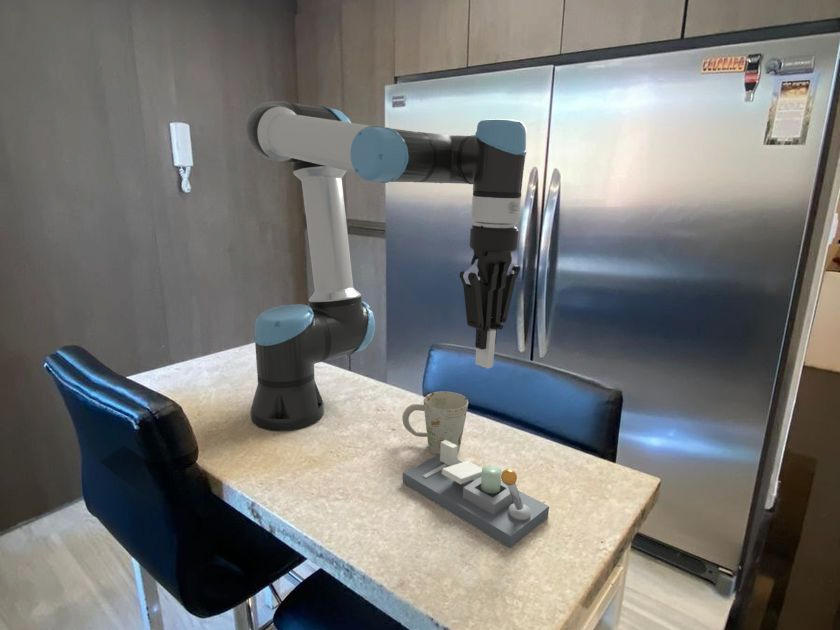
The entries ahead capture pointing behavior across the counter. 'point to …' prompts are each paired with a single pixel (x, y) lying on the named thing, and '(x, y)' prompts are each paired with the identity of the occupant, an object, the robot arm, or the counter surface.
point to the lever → (512, 487)
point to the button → (491, 479)
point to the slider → (448, 453)
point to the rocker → (462, 472)
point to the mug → (440, 418)
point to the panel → (477, 502)
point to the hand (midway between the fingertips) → (484, 365)
